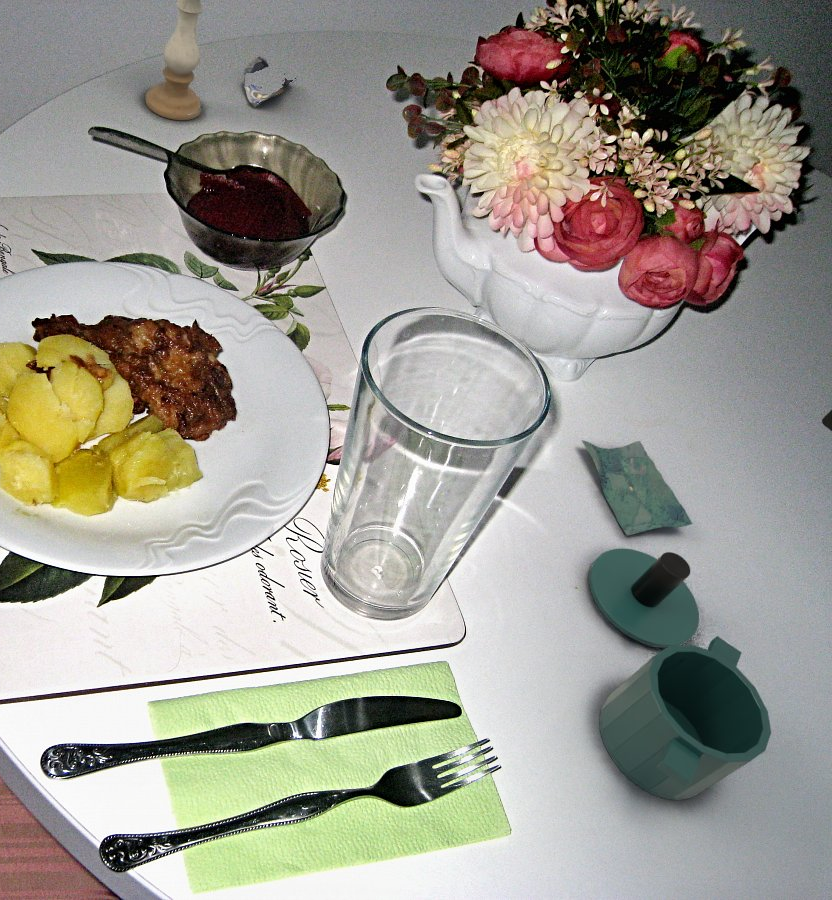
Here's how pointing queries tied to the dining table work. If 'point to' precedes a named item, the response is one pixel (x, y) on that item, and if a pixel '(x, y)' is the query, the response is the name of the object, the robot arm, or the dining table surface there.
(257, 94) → the snack package
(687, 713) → the pot
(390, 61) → the dining table surface
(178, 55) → the candle holder
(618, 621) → the pot lid
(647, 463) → the green flat curved rectangle
